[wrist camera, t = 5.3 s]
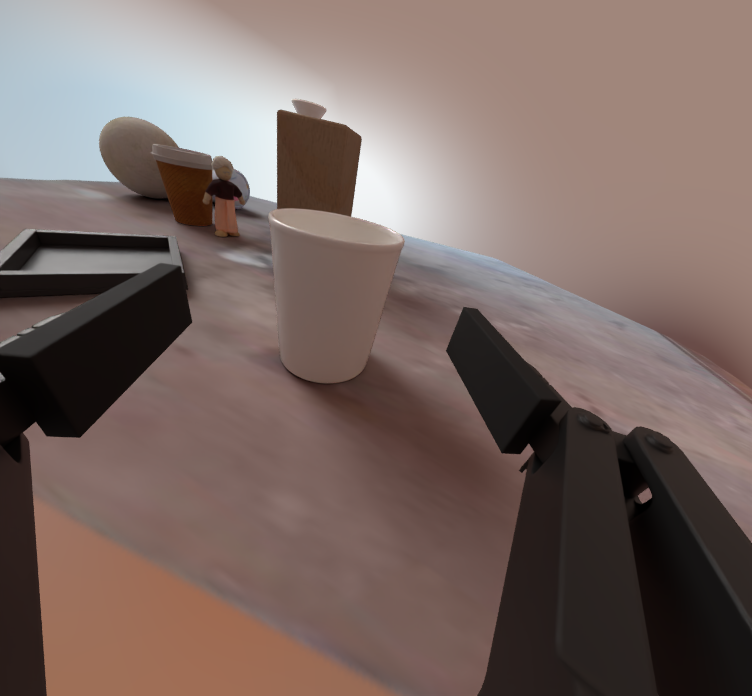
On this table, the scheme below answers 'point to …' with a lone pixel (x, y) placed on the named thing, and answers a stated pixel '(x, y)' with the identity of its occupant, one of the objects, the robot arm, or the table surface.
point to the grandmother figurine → (224, 197)
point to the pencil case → (240, 183)
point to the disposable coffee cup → (185, 183)
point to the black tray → (79, 261)
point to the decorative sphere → (134, 154)
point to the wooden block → (316, 164)
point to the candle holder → (329, 290)
